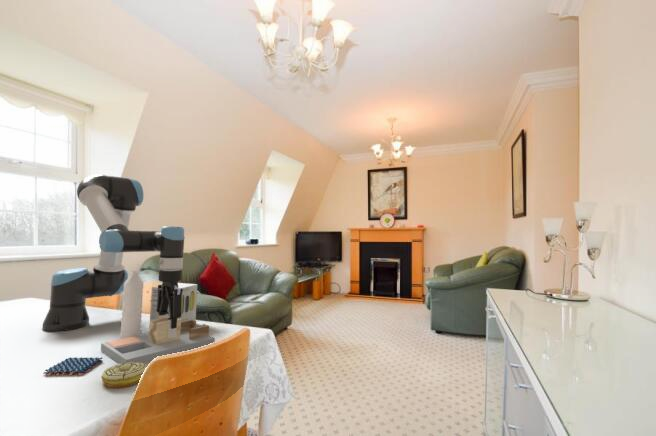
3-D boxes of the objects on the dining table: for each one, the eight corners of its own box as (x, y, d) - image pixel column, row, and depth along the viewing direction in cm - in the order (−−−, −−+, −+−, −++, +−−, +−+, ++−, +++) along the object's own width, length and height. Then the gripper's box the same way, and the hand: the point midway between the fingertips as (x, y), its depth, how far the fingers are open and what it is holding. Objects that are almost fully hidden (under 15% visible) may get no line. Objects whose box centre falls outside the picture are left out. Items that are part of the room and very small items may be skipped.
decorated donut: (127, 370, 95) (128, 357, 95) (156, 376, 92) (157, 362, 92) (91, 385, 85) (92, 370, 85) (122, 393, 82) (123, 377, 82)
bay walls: (174, 332, 123) (174, 323, 123) (191, 328, 129) (192, 319, 129) (190, 339, 116) (191, 329, 116) (208, 335, 121) (209, 325, 121)
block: (149, 340, 113) (150, 320, 114) (171, 335, 119) (173, 316, 120) (156, 344, 109) (158, 323, 110) (180, 339, 116) (181, 319, 116)
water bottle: (119, 341, 119) (123, 272, 121) (121, 335, 125) (125, 270, 126) (146, 338, 123) (150, 271, 125) (147, 333, 129) (150, 269, 130)
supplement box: (176, 332, 132) (179, 288, 133) (148, 329, 135) (151, 286, 136) (196, 323, 145) (198, 283, 146) (170, 321, 148) (172, 282, 149)
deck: (100, 350, 109) (101, 342, 109) (184, 332, 132) (184, 325, 132) (125, 368, 96) (126, 359, 96) (214, 344, 118) (214, 337, 119)
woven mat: (67, 363, 100) (67, 356, 100) (103, 363, 101) (104, 356, 101) (40, 378, 89) (41, 370, 89) (81, 377, 90) (82, 370, 90)
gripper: (148, 267, 119) (144, 332, 118) (173, 272, 107) (169, 344, 106) (168, 266, 125) (165, 327, 124) (194, 271, 113) (191, 339, 112)
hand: (167, 335), depth 115 cm, fingers closed on block, 6 cm apart
